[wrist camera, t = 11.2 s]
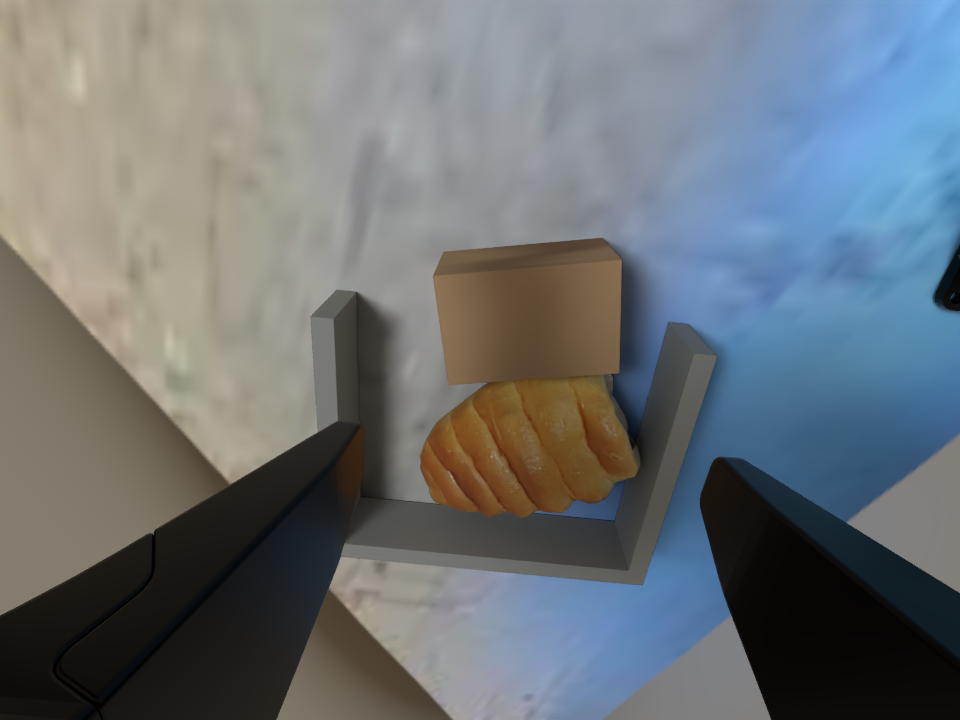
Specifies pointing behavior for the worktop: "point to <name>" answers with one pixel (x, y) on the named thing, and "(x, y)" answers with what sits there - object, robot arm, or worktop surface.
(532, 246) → the cardboard brown box
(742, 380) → the worktop surface
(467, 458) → the pastry
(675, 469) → the bay
